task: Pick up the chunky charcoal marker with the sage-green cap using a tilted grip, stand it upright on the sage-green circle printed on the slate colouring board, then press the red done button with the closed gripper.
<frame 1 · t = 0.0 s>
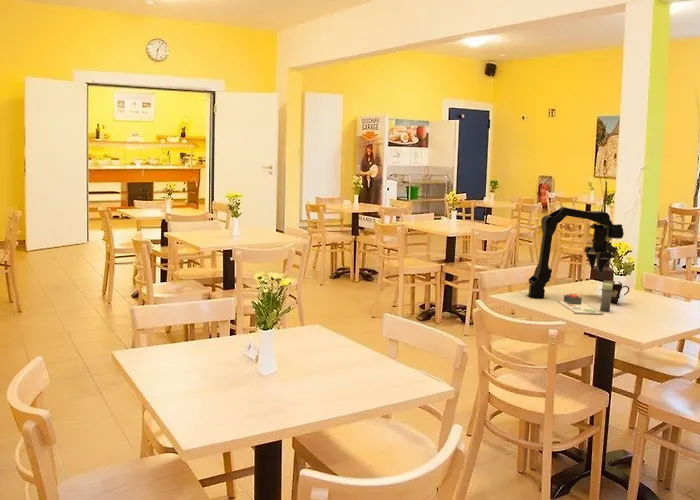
hand: (596, 270, 340), 15 cm above the table, tool pointing down, fingers open, 9 cm apart
done button: (573, 296, 331), point 4 cm above the table, slide at 0.0 cm
coffee mug: (613, 304, 337), on the table
colouring board: (578, 308, 323), on the table
marker: (604, 312, 318), on the table
done button housing: (572, 303, 331), resting on colouring board
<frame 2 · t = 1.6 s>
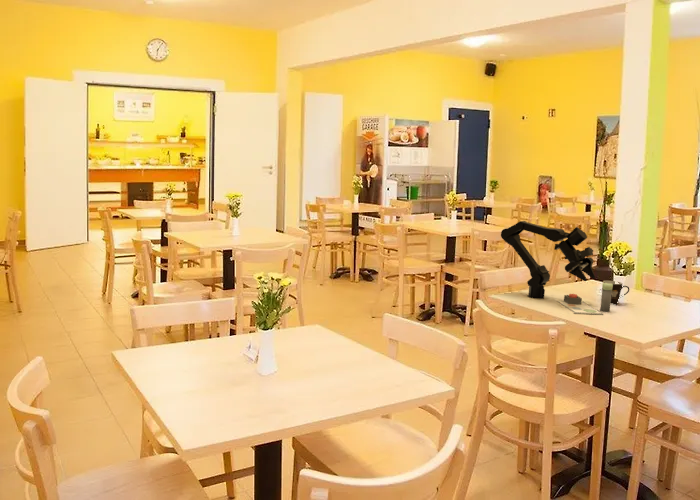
hand: (590, 279, 321), 14 cm above the table, tool tilted 45°, fingers open, 9 cm apart
nothing on the table moved.
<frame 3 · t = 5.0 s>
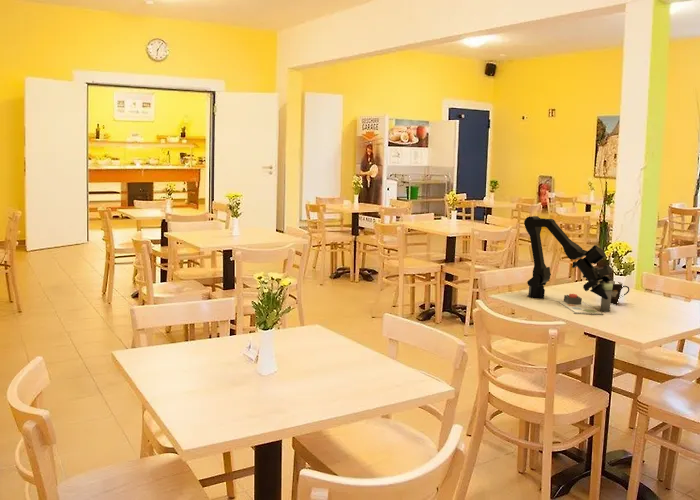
hand: (609, 298, 316), 7 cm above the table, tool tilted 45°, fingers closed on marker, 4 cm apart
marker: (604, 312, 318), on the table, touching gripper
everything else where it was.
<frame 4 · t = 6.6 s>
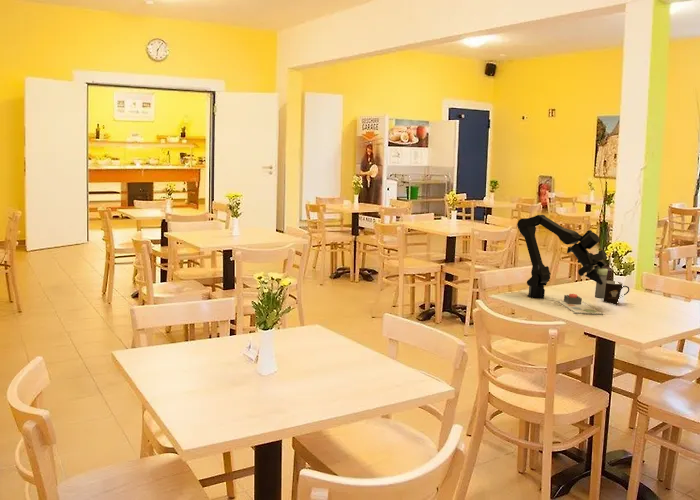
hand: (604, 283, 315), 13 cm above the table, tool tilted 45°, fingers closed on marker, 4 cm apart
marker: (599, 297, 316), point 7 cm above the table, touching gripper
everything else where it was.
when the fingers open (8 cm above the table, at t = 8.5 s): marker drops 1 cm, resting on colouring board.
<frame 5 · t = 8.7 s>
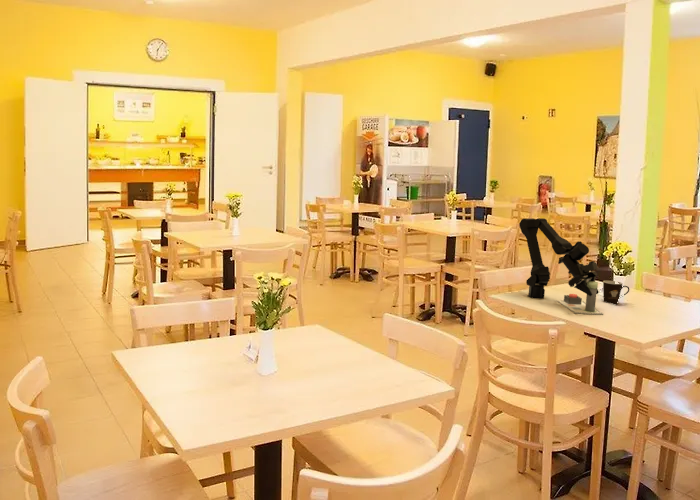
hand: (594, 294, 314), 8 cm above the table, tool tilted 45°, fingers open, 6 cm apart
marker: (589, 310, 316), point 1 cm above the table, touching colouring board
everything else where it was.
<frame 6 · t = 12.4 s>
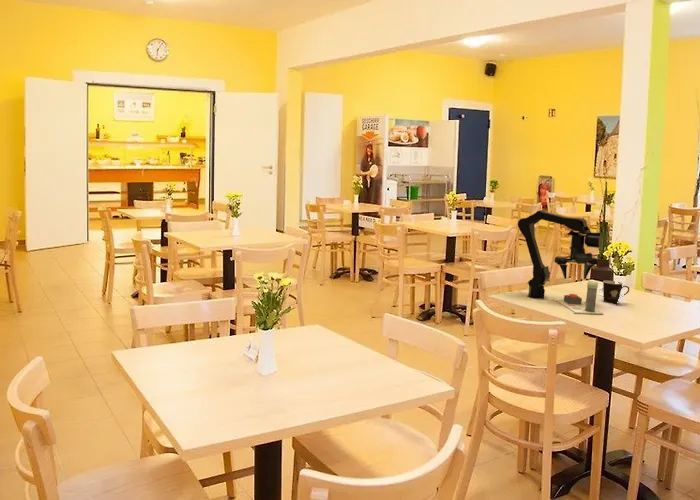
hand: (574, 279, 329), 12 cm above the table, tool pointing down, fingers open, 9 cm apart
nothing on the table moved.
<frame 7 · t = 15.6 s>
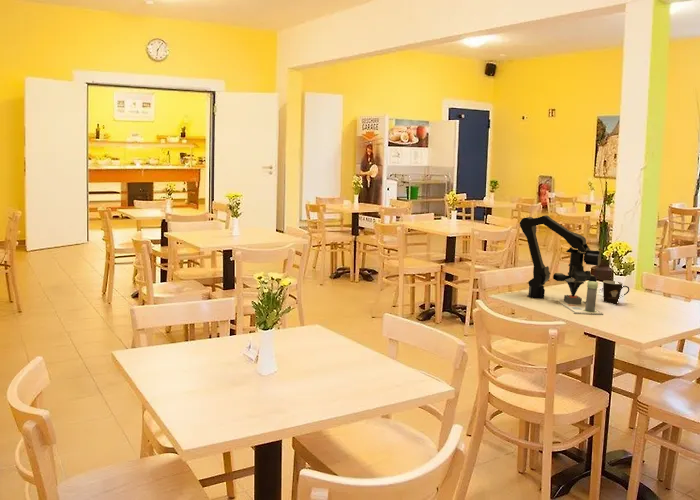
hand: (573, 295, 331), 4 cm above the table, tool pointing down, fingers closed, pressing on done button
done button: (572, 298, 331), point 3 cm above the table, slide at 0.6 cm, touching gripper
everything else where it was.
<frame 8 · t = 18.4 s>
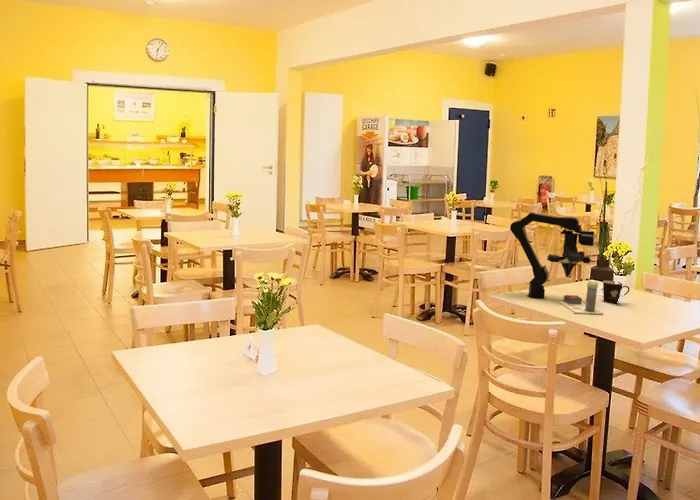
hand: (567, 276, 334), 12 cm above the table, tool pointing down, fingers closed
done button: (572, 298, 331), point 3 cm above the table, slide at 0.7 cm
everything else where it was.
at the end: marker 0.0 cm from the target spot, point 0.8 cm above the table; marker tilted 0°; done button slide at 0.7 cm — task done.
